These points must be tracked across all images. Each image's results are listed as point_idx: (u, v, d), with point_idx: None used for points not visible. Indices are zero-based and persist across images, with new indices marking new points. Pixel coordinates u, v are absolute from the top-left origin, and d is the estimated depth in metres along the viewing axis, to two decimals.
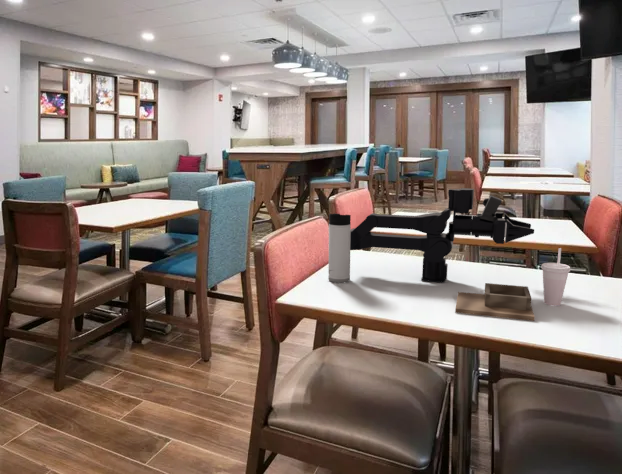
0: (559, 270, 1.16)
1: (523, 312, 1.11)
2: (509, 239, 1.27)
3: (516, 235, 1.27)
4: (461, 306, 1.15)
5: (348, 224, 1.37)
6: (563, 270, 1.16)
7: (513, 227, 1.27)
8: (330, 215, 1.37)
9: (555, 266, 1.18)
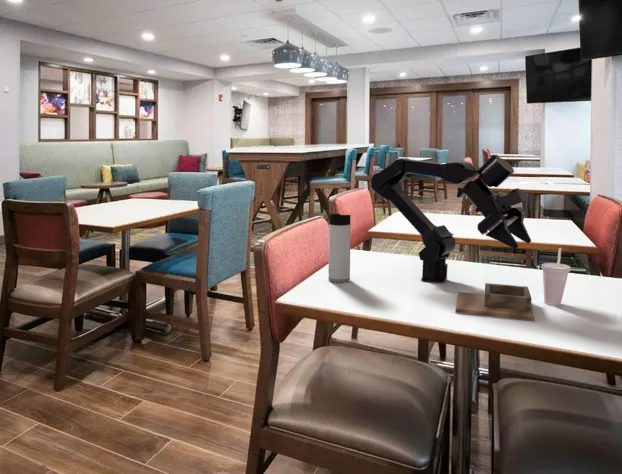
0: (559, 270, 1.16)
1: (523, 312, 1.11)
2: (491, 235, 1.22)
3: (500, 238, 1.21)
4: (461, 306, 1.15)
5: (348, 224, 1.37)
6: (563, 270, 1.16)
7: (504, 230, 1.20)
8: (330, 215, 1.37)
9: (555, 266, 1.18)
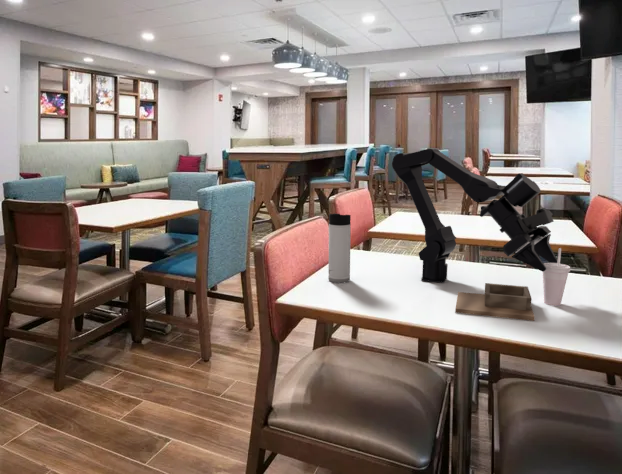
0: (559, 270, 1.16)
1: (523, 312, 1.11)
2: (518, 257, 1.18)
3: (526, 260, 1.18)
4: (461, 306, 1.15)
5: (348, 224, 1.37)
6: (563, 270, 1.16)
7: (530, 252, 1.16)
8: (330, 215, 1.37)
9: (555, 266, 1.18)
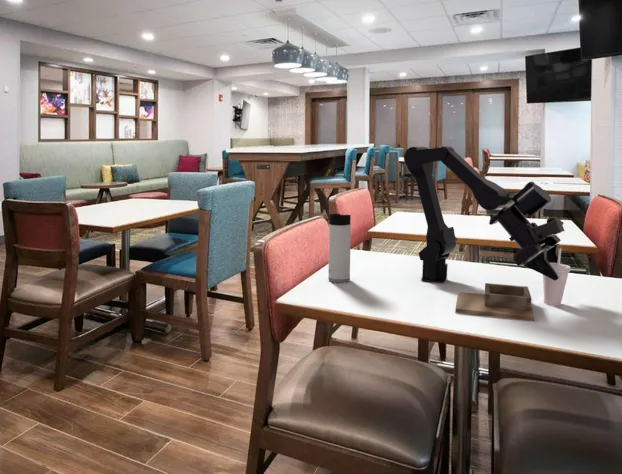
0: (559, 270, 1.16)
1: (523, 312, 1.11)
2: (530, 266, 1.18)
3: (539, 268, 1.17)
4: (461, 306, 1.15)
5: (348, 224, 1.37)
6: (563, 270, 1.16)
7: (543, 260, 1.16)
8: (330, 215, 1.37)
9: (555, 266, 1.18)
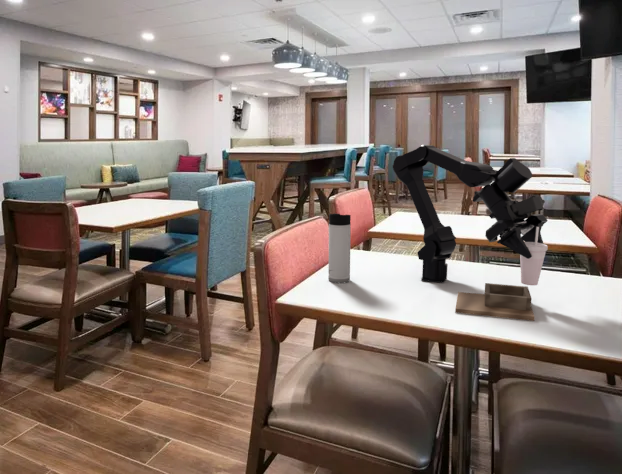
0: (533, 248, 1.14)
1: (523, 312, 1.11)
2: (504, 243, 1.17)
3: (512, 246, 1.16)
4: (461, 306, 1.15)
5: (348, 224, 1.37)
6: (537, 249, 1.13)
7: (516, 238, 1.14)
8: (330, 215, 1.37)
9: (531, 245, 1.15)
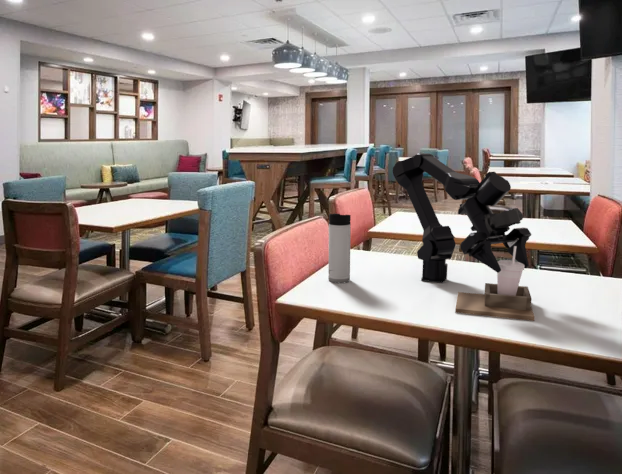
0: (507, 267, 1.14)
1: (523, 312, 1.11)
2: (475, 256, 1.17)
3: (483, 259, 1.16)
4: (461, 306, 1.15)
5: (348, 224, 1.37)
6: (511, 268, 1.14)
7: (486, 251, 1.15)
8: (330, 215, 1.37)
9: (507, 263, 1.16)
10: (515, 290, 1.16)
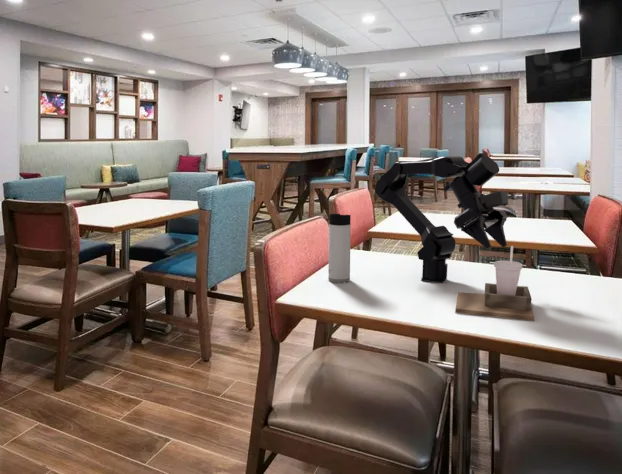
0: (505, 267, 1.15)
1: (523, 312, 1.11)
2: (466, 231, 1.23)
3: (474, 235, 1.22)
4: (461, 306, 1.15)
5: (348, 224, 1.37)
6: (509, 268, 1.14)
7: (479, 227, 1.21)
8: (330, 215, 1.37)
9: (505, 263, 1.16)
10: (514, 290, 1.16)
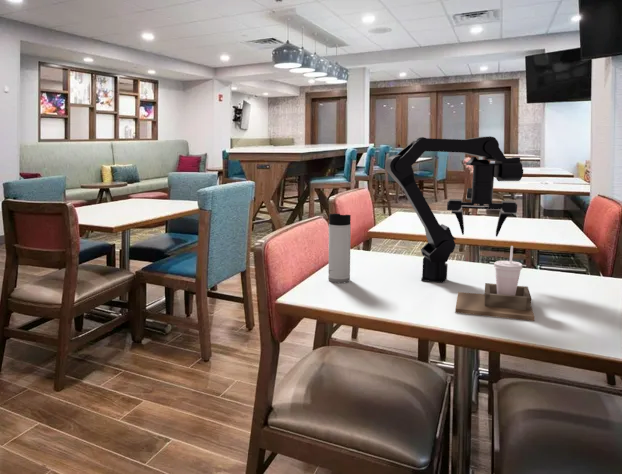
0: (505, 267, 1.14)
1: (523, 312, 1.11)
2: None
3: None
4: (461, 306, 1.15)
5: (348, 224, 1.37)
6: (509, 268, 1.14)
7: None
8: (330, 215, 1.37)
9: (505, 264, 1.16)
10: (514, 290, 1.16)
